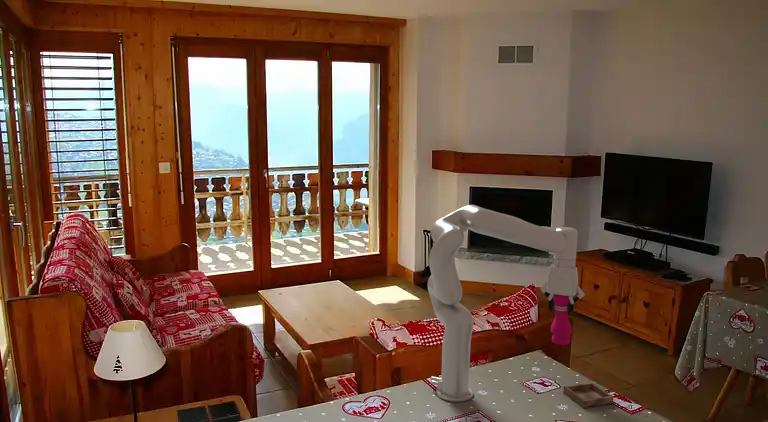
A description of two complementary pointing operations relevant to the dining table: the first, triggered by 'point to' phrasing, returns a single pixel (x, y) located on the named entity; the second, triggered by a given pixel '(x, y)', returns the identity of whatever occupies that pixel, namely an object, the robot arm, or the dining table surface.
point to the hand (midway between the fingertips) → (560, 311)
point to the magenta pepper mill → (561, 321)
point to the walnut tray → (588, 395)
